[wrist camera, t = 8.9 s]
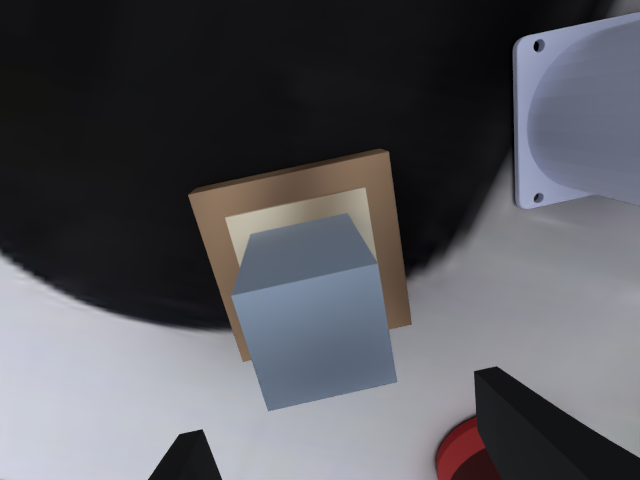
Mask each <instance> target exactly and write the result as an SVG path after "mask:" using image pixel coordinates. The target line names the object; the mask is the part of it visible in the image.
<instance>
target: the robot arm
mask: <svg viewBox="0 0 640 480" xmlns="http://www.w3.org/2000/svg"><path fill="white" fill-rule="evenodd" d="M535 41H537V42H538V43H539V49H538V51H537V52H536V51H535V50H534V48H533V46H534V43H535ZM513 97H514V150H515V201H516V204H517V206H518V207H521V208H523V209H532V208H536V207H541V206H546V205H550V204H555V203H559V202H564V201H568V200H573V199H578V198H582V197H587V196H591V195H599V196H603V197H607V198H611V199H615V200H619V201H622V202H626V203H630V204H634V205H638V206H640V12H637V13H632V14H627V15H623V16H618V17H613V18H608V19H604V20H599V21H594V22H590V23H585V24H580V25H575V26H571V27H566V28H561V29H557V30H552V31H547V32H542V33H538V34H533V35H528V36H525V37H522V38H520V39H519V40H517V41H516V43H515V45H514V47H513ZM537 193H538V194H539V196H538V199H537V200H535V201H534V196H535V195H536V194H537ZM474 379H475V398H476V416H477V431H478V433H479V435H480V437H481V439H482V441H483V443H484V445H485V448H486V450H487V452H488V454H489V456H490V458H491V460H492V462H493V464H494V466H495V468H496V470H497V471H498V473H499V475H500V476H501V478H502V480H640V458H639V457H637V456H636V455H634V454H632V453H630V452H629V451H627V450H625V449H624V448H622V447H620V446H618V445H617V444H615V443H613V442H612V441H610V440H608V439H607V438H605V437H603V436H602V435H600V434H598V433H597V432H595V431H594V430H592V429H590V428H589V427H587V426H586V425H584V424H582V423H581V422H579V421H578V420H576V419H575V418H573V417H572V416H570V415H568V414H567V413H565V412H564V411H562V410H561V409H559V408H558V407H556V406H555V405H553V404H552V403H550V402H549V401H547V400H546V399H544V398H543V397H541V396H540V395H538V394H537V393H535V392H534V391H532V390H531V389H529V388H528V387H526V386H525V385H523V384H522V383H521V382H519V381H518V380H516V379H515V378H513V377H512V376H510V375H509V374H507V373H506V372H504V371H503V370H501V369H500V368H498V367H497V366H496V367H492V368H487V369H482V370H478V371H474ZM148 480H222V478H221V476H220V473H219V470H218V468H217V465H216V463H215V460H214V458H213V455H212V452H211V450H210V447H209V445H208V442H207V439H206V437H205V434H204V432H203V429H202V430H197V431H192V432H188V433H183V434H179V436H178V437H177V438H176V440H175V441H174V443H173V444H172V446H171V447H170V448H169V450H168V451H167V453H166V454H165V456H164V457H163V458H162V460H161V461H160V463H159V464H158V466H157V467H156V469H155V470H154V472H153V473H152V475H151V476H150V478H149V479H148Z"/></svg>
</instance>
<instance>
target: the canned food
mask: <svg viewBox="0 0 640 480" xmlns="http://www.w3.org/2000/svg"><path fill="white" fill-rule="evenodd" d="M436 466H437V477H438V480H502V478H501V476H500V475H499V473H498V471H497V470H496V468H495V466H494V464H493V462H492V460H491V458H490V456H489V454H488V452H487V450H486V448H485V445H484V443H483V441H482V439H481V437H480V435H479V433H478V431H477V417H474V418H472V419H470V420H468V421H466V422H464V423H463V424H461V425H460V426H458V427H457V428H455V429H454V430H453V431H452V432H451V433H450V434H449V435H448V436H447V437H446V438H445V440H444V441H443V442H442V444H441V446H440V448H439V450H438V453H437V458H436Z"/></svg>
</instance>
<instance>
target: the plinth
mask: <svg viewBox="0 0 640 480" xmlns="http://www.w3.org/2000/svg"><path fill="white" fill-rule="evenodd" d="M188 196H189V199H190V202H191V205H192V208H193V211H194V214H195V217H196V220H197V224H198V227H199V230H200V233H201V236H202V239H203V242H204V245H205V248H206V251H207V254H208V257H209V260H210V263H211V266H212V269H213V272H214V275H215V278H216V281H217V284H218V287H219V290H220V293H221V296H222V299H223V303H224V306H225V309H226V312H227V315H228V318H229V321H230V324H231V327H232V330H233V333H234V336H235V339H236V342H237V345H238V348H239V351H240V354H241V357H242V360H243V362H244V361H249V360H252V359H251V356H250V353H249V350H248V347H247V344H246V341H245V338H244V335H243V331H242V328H241V325H240V322H239V319H238V316H237V313H236V310H235V306H234V303H233V300H232V297H231V295H232V291H233V288H234V285H235V282H236V279H237V275H238V272H239V269H240V266H241V263H242V259H243V256H244V253H245V250H246V247H247V244H248V240H249V237H250V234H253V233H258V232H262V231H267V230H271V229H276V228H280V227H285V226H290V225H294V224H299V223H303V222H308V221H312V220H317V219H321V218H326V217H331V216H335V215H340V214H344V213H348V215H349V217H350V218H351V220H352V222H353V223H354V225H355V226H356V228H357V230H358V231H359V233H360V235H361V236H362V238H363V240H364V241H365V243H366V245H367V246H368V248H369V250H370V251H371V253H372V255H373V256H374V258H375V259H376V261H377V263H378V267H379V273H380V280H381V286H382V292H383V298H384V304H385V311H386V317H387V323H388V329H393V328H397V327H402V326H406V325H411V324H412V323H411V315H410V308H409V300H408V293H407V285H406V278H405V270H404V263H403V255H402V248H401V240H400V233H399V225H398V218H397V210H396V203H395V195H394V188H393V180H392V173H391V165H390V158H389V152H388V151H386V150H383V149H375V150H371V151H366V152H361V153H357V154H352V155H347V156H343V157H338V158H333V159H329V160H324V161H319V162H315V163H310V164H305V165H301V166H296V167H292V168H287V169H282V170H278V171H273V172H268V173H264V174H259V175H254V176H250V177H245V178H240V179H236V180H231V181H226V182H222V183H217V184H212V185H208V186H203V187H199V188H196V189H195V190H193V191H192V192H191V193H190V194H188Z"/></svg>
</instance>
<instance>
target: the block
mask: <svg viewBox="0 0 640 480" xmlns="http://www.w3.org/2000/svg"><path fill="white" fill-rule="evenodd" d="M231 297H232V300H233V303H234V306H235V310H236V313H237V316H238V319H239V322H240V325H241V328H242V331H243V335H244V338H245V341H246V344H247V347H248V350H249V353H250V356H251V359H252V363H253V366H254V369H255V372H256V375H257V378H258V381H259V384H260V387H261V391H262V394H263V397H264V400H265V403H266V406H267V409H268V411H271V410H275V409H280V408H284V407H289V406H293V405H298V404H302V403H306V402H311V401H315V400H320V399H324V398H329V397H333V396H338V395H342V394H346V393H351V392H355V391H360V390H364V389H369V388H373V387H377V386H382V385H386V384H391V383H395V382H397V379H396V372H395V366H394V360H393V354H392V348H391V341H390V335H389V329H388V323H387V317H386V311H385V304H384V298H383V292H382V286H381V280H380V273H379V267H378V263H377V261H376V259H375V258H374V256H373V255H372V253H371V251H370V250H369V248H368V246H367V245H366V243H365V241H364V240H363V238H362V236H361V235H360V233H359V231H358V230H357V228H356V226H355V225H354V223H353V222H352V220H351V218H350V217H349V215H348V213H344V214H340V215H335V216H331V217H326V218H321V219H317V220H312V221H308V222H303V223H299V224H294V225H290V226H285V227H280V228H276V229H271V230H267V231H262V232H258V233H253V234H250V237H249V240H248V244H247V247H246V250H245V253H244V256H243V259H242V263H241V266H240V269H239V272H238V275H237V279H236V282H235V285H234V288H233V291H232V295H231Z"/></svg>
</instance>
